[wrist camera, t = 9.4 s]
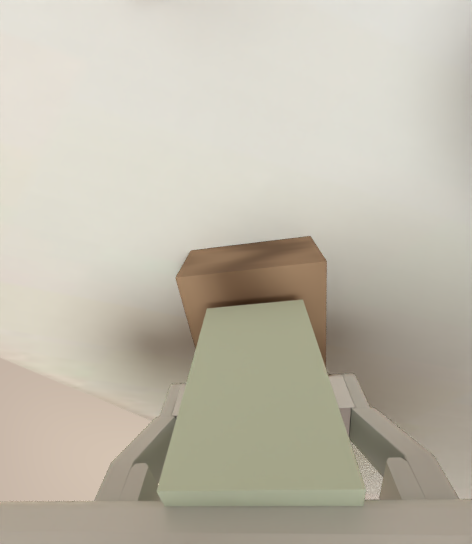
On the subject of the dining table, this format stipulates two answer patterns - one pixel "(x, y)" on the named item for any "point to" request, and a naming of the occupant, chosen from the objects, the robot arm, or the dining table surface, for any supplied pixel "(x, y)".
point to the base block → (255, 280)
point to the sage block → (259, 417)
